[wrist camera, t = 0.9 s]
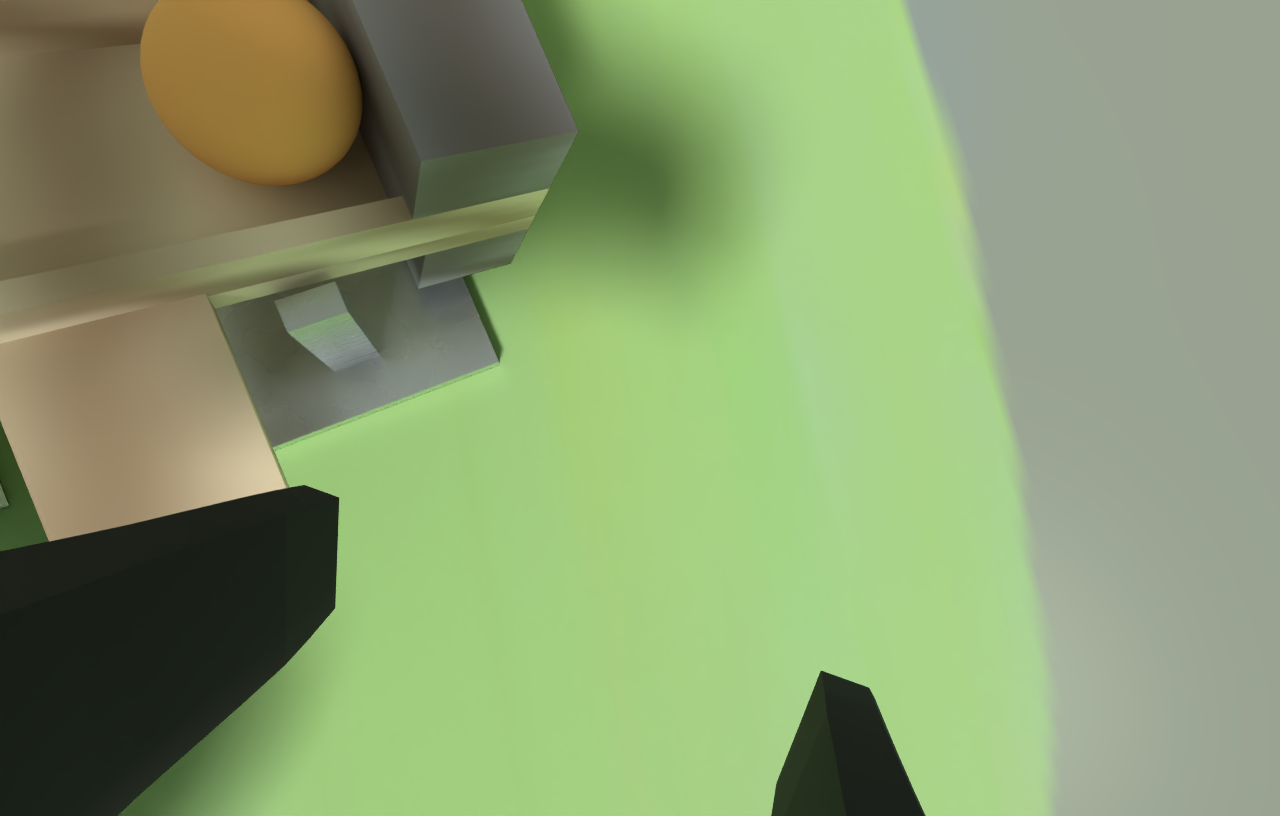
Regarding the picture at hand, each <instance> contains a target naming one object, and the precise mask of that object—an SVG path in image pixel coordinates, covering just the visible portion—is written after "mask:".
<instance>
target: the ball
mask: <svg viewBox="0 0 1280 816" xmlns="http://www.w3.org/2000/svg"><path fill="white" fill-rule="evenodd" d="M140 65H141V71H142V77H143V81H144V85H145V88H146V91H147V94H148V96H149V99H150V101H151V103H152V105H153V107H154V109H155V111H156V113H157V115H158V116H159V118H160V119H161V121H162V122H163V124H164V125H165V126H166V128H167V129H168V130H169V132H170V133H171V134H172V135H173V136H174V138H175V139H176V140H177V141H178V142H179V143H180V144H181V145H182V146H183V147H184V148H186V149H187V150H188V151H189V152H190V153H191V154H192V155H194V156H195V157H196V158H198V159H199V160H200V161H202V162H203V163H205V164H206V165H208V166H210V167H211V168H213V169H215V170H217V171H219V172H221V173H223V174H226V175H228V176H230V177H232V178H235V179H238V180H241V181H244V182H249V183H253V184H258V185H267V186H285V185H294V184H298V183H303V182H305V181H308V180H311V179H314V178H316V177H318V176H320V175H322V174H324V173H326V172H327V171H329V170H330V169H331V168H333V167H334V166H335V165H336V164H337V163H338V162H339V161H340V160H341V159H342V158H343V157H344V156H345V155H346V153H347V152H348V151H349V149H350V147H351V145H352V144H353V142H354V140H355V138H356V136H357V133H358V129H359V126H360V122H361V116H362V89H361V84H360V79H359V75H358V71H357V68H356V66H355V63H354V60H353V58H352V56H351V54H350V52H349V50H348V48H347V46H346V44H345V42H344V41H343V39H342V38H341V36H340V35H339V33H338V32H337V31H336V29H335V28H334V27H333V25H332V24H331V23H330V22H329V21H328V19H327V18H326V17H325V16H324V15H323V14H322V13H320V12H319V11H318V10H317V9H316V8H315V7H314V6H313V5H312V4H310V3H309V2H308V1H307V0H159V1H158V3H157V4H156V5H155V7H154V8H153V10H152V11H151V13H150V14H149V17H148V19H147V21H146V23H145V27H144V30H143V34H142V38H141V49H140Z"/></svg>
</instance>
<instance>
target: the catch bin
mask: <svg viewBox="0 0 1280 816" xmlns="http://www.w3.org/2000/svg"><path fill="white" fill-rule="evenodd" d="M6 506H9V505H8V502H7V500H6V497H5V495H4V492H3V490H2V487H1V485H0V509H1V508H4V507H6Z"/></svg>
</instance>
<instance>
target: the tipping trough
mask: <svg viewBox="0 0 1280 816" xmlns="http://www.w3.org/2000/svg"><path fill="white" fill-rule="evenodd" d="M158 1H159V0H0V421H1V423H2V426H3V428H4V431H5V433H6V436H7V438H8V441H9V443H10V446H11V448H12V451H13V453H14V456H15V458H16V461H17V463H18V466H19V468H20V471H21V473H22V476H23V478H24V481H25V483H26V486H27V488H28V491H29V493H30V496H31V498H32V501H33V503H34V505H35V508H36V510H37V513H38V515H39V518H40V520H41V523H42V525H43V528H44V530H45V533H46V535H47V538H48V540H49V541H54V540H59V539H63V538H68V537H73V536H78V535H82V534H87V533H92V532H97V531H101V530H106V529H111V528H115V527H120V526H124V525H129V524H133V523H137V522H141V521H146V520H150V519H154V518H158V517H162V516H167V515H171V514H175V513H179V512H183V511H188V510H192V509H196V508H200V507H204V506H209V505H213V504H217V503H221V502H225V501H230V500H234V499H238V498H242V497H247V496H251V495H256V494H260V493H265V492H269V491H274V490H279V489H284V488H289V486H288V483H287V481H286V478H285V476H284V474H283V471H282V469H281V466H280V464H279V462H278V459H277V457H276V454H275V452H274V449H273V447H272V445H271V442H270V440H269V437H268V435H267V433H266V430H265V428H264V425H263V423H262V421H261V418H260V416H259V413H258V411H257V408H256V406H255V404H254V401H253V399H252V396H251V394H250V392H249V389H248V387H247V384H246V382H245V380H244V377H243V375H242V372H241V370H240V368H239V365H238V363H237V360H236V358H235V355H234V353H233V351H232V348H231V346H230V343H229V341H228V339H227V336H226V334H225V331H224V329H223V327H222V324H221V322H220V319H219V317H218V314H217V312H216V310H215V308H219V307H223V306H227V305H231V304H235V303H239V302H243V301H247V300H251V299H255V298H259V297H262V296H266V295H270V294H274V293H278V292H282V291H286V290H290V289H294V288H298V287H302V286H306V285H310V284H313V283H317V282H321V281H325V280H329V279H333V278H337V277H341V276H345V275H349V274H353V273H357V272H361V271H364V270H368V269H372V268H376V267H380V266H384V265H388V264H392V263H396V262H400V261H404V260H406V261H407V263H408V265H409V268H410V270H411V272H412V275H413V277H414V279H415V282H416V284H417V287H418V289H420V288H423V287H427V286H431V285H434V284H438V283H441V282H445V281H449V280H452V279H456V278H460V277H463V276H467V275H470V274H474V273H478V272H481V271H485V270H489V269H492V268H496V267H499V266H503V265H507V264H510V263H511V262H512V260H513V258H514V256H515V254H516V252H517V250H518V248H519V246H520V244H521V242H522V241H523V239H524V237H525V235H526V233H527V231H528V229H529V227H530V225H531V223H532V221H533V219H534V217H535V215H536V213H537V211H538V209H539V207H540V206H541V204H542V202H543V200H544V198H545V196H546V194H547V192H548V190H549V188H550V186H551V184H552V182H553V180H554V178H555V176H556V174H557V172H558V170H559V169H560V167H561V165H562V163H563V161H564V159H565V157H566V155H567V153H568V151H569V149H570V147H571V145H572V143H573V141H574V139H575V137H576V135H577V133H578V132H579V131H578V128H577V126H576V124H575V121H574V119H573V117H572V115H571V112H570V110H569V108H568V105H567V103H566V101H565V99H564V96H563V94H562V92H561V89H560V87H559V85H558V82H557V80H556V78H555V76H554V73H553V71H552V69H551V66H550V64H549V62H548V60H547V57H546V55H545V53H544V50H543V48H542V46H541V43H540V41H539V39H538V37H537V34H536V32H535V30H534V27H533V25H532V23H531V21H530V18H529V16H528V14H527V11H526V9H525V7H524V5H523V2H522V0H307V1H308V2H309V3H310V4H312V5H313V6H314V7H315V8H316V9H317V10H318V11H319V12H320V13H322V14H323V15H324V16H325V17H326V18H327V19H328V21H329V22H330V23H331V24H332V25H333V27H334V28H335V29H336V31H337V32H338V33H339V35H340V36H341V38H342V39H343V41H344V42H345V44H346V46H347V48H348V50H349V52H350V54H351V56H352V58H353V60H354V63H355V66H356V68H357V71H358V75H359V79H360V84H361V89H362V116H361V122H360V126H359V129H358V133H357V136H356V138H355V140H354V142H353V144H352V145H351V147H350V149H349V151H348V152H347V153H346V155H345V156H344V157H343V158H342V159H341V160H340V161H339V162H338V163H337V164H336V165H335V166H334V167H333V168H331V169H330V170H329V171H327V172H326V173H324V174H322V175H320V176H318V177H316V178H314V179H311V180H308V181H305V182H303V183H298V184H294V185H285V186H267V185H258V184H253V183H249V182H244V181H241V180H238V179H235V178H232V177H230V176H228V175H226V174H223V173H221V172H219V171H217V170H215V169H213V168H211V167H210V166H208V165H206V164H205V163H203V162H202V161H200V160H199V159H198V158H196V157H195V156H194V155H192V154H191V153H190V152H189V151H188V150H187V149H186V148H184V147H183V146H182V145H181V144H180V143H179V142H178V141H177V140H176V139H175V138H174V136H173V135H172V134H171V133H170V132H169V130H168V129H167V128H166V126H165V125H164V124H163V122H162V121H161V119H160V118H159V116H158V115H157V113H156V111H155V109H154V107H153V105H152V103H151V101H150V99H149V96H148V94H147V91H146V88H145V85H144V81H143V77H142V71H141V65H140V49H141V38H142V34H143V30H144V27H145V23H146V21H147V19H148V17H149V14H150V13H151V11H152V10H153V8H154V7H155V5H156V4H157V3H158Z"/></svg>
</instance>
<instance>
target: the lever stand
mask: <svg viewBox="0 0 1280 816" xmlns="http://www.w3.org/2000/svg"><path fill="white" fill-rule="evenodd" d="M215 310H216V312H217V314H218V317H219V319H220V322H221V324H222V327H223V329H224V331H225V334H226V336H227V339H228V341H229V343H230V346H231V348H232V351H233V353H234V355H235V358H236V360H237V363H238V365H239V368H240V370H241V372H242V375H243V377H244V380H245V382H246V384H247V387H248V389H249V392H250V394H251V396H252V399H253V401H254V404H255V406H256V408H257V411H258V413H259V416H260V418H261V421H262V423H263V425H264V428H265V430H266V433H267V435H268V437H269V440H270V442H271V445H272V447H273V449H274V450H277V449H280V448H282V447H285V446H288V445H290V444H293V443H296V442H298V441H301V440H303V439H306V438H309V437H311V436H314V435H317V434H319V433H322V432H324V431H327V430H330V429H332V428H335V427H338V426H340V425H343V424H345V423H348V422H351V421H353V420H356V419H359V418H361V417H364V416H367V415H369V414H372V413H374V412H377V411H380V410H382V409H385V408H388V407H390V406H393V405H395V404H398V403H401V402H403V401H406V400H409V399H411V398H414V397H416V396H419V395H422V394H424V393H427V392H430V391H432V390H435V389H438V388H440V387H443V386H445V385H448V384H451V383H453V382H456V381H459V380H461V379H464V378H466V377H469V376H472V375H474V374H477V373H480V372H482V371H485V370H487V369H490V368H493V367H495V366H498V365H499V361H498V358H497V356H496V354H495V351H494V349H493V347H492V344H491V342H490V340H489V337H488V335H487V333H486V330H485V328H484V326H483V323H482V321H481V319H480V316H479V314H478V312H477V309H476V307H475V305H474V302H473V300H472V297H471V295H470V293H469V290H468V288H467V286H466V283H465V281H464V279H463V277H460V278H456V279H452V280H449V281H445V282H441V283H438V284H434V285H431V286H427V287H423V288H420V289H418V287H417V284H416V282H415V279H414V277H413V275H412V272H411V270H410V268H409V265H408V263H407V261H406V260H404V261H400V262H396V263H392V264H388V265H384V266H380V267H376V268H372V269H368V270H364V271H361V272H357V273H353V274H349V275H345V276H341V277H337V278H333V279H329V280H325V281H321V282H317V283H313V284H310V285H306V286H302V287H298V288H294V289H290V290H286V291H282V292H278V293H274V294H270V295H266V296H262V297H259V298H255V299H251V300H247V301H243V302H239V303H235V304H231V305H227V306H223V307H219V308H215Z"/></svg>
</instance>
